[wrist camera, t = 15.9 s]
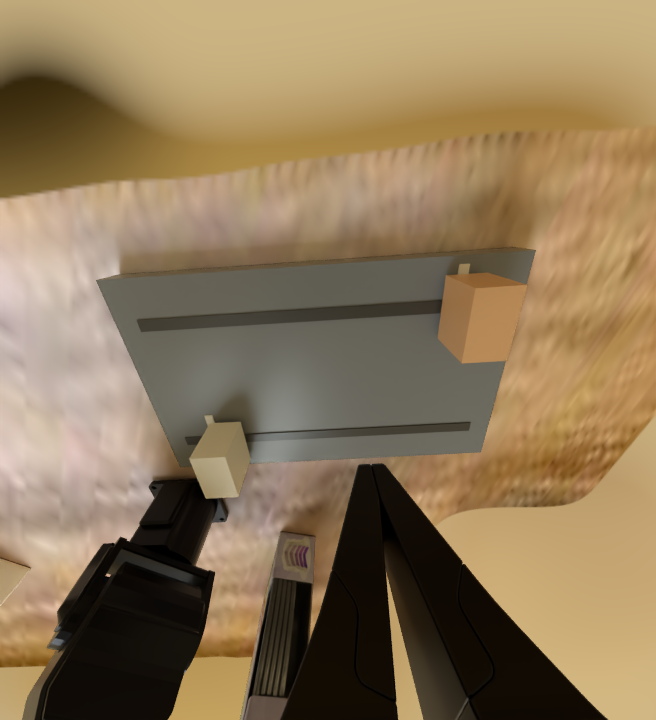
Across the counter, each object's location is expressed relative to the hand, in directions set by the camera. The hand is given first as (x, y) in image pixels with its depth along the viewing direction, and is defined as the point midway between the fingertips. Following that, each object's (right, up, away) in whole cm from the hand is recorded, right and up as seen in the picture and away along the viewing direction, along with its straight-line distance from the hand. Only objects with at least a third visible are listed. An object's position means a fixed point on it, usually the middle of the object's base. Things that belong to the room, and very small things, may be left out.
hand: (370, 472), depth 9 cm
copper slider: (+7, +7, +8) cm, 12 cm away
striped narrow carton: (-7, -24, +27) cm, 36 cm away
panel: (-2, +3, +12) cm, 13 cm away
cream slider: (-9, -3, +13) cm, 16 cm away
